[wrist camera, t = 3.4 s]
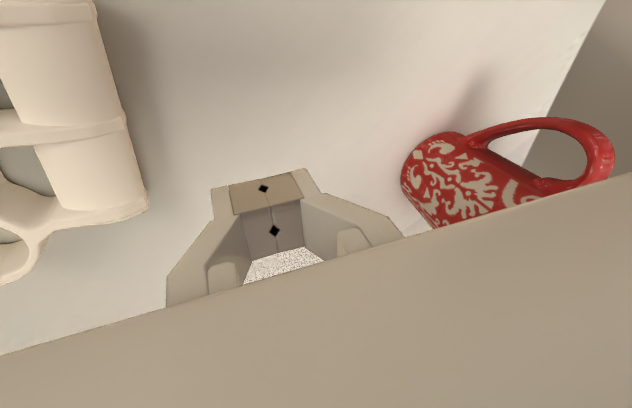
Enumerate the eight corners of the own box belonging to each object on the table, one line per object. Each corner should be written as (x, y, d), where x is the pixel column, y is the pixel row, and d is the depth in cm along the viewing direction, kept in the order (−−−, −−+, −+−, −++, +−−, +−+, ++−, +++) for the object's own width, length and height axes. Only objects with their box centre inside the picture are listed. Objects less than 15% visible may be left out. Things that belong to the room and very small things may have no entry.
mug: (450, 208, 35) (565, 313, 25) (377, 209, 31) (476, 332, 21) (514, 87, 28) (707, 161, 18) (432, 69, 25) (614, 151, 15)
